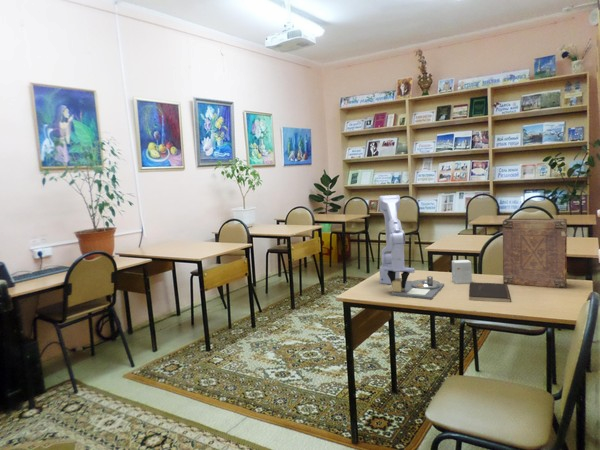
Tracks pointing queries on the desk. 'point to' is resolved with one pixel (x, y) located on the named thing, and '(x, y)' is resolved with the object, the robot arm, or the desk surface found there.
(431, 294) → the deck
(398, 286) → the link block
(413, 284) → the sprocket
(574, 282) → the desk surface
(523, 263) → the book
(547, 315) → the desk surface
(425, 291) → the pad
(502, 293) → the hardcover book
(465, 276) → the small box
